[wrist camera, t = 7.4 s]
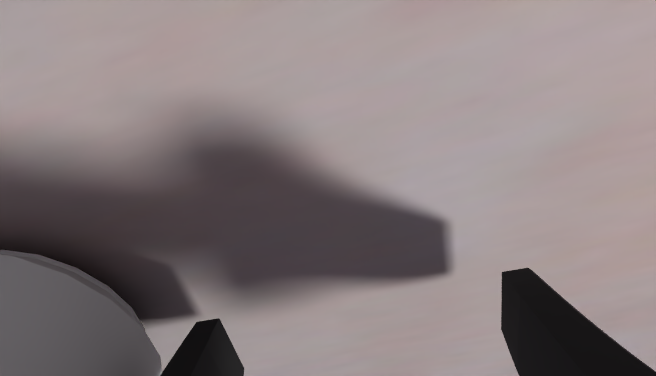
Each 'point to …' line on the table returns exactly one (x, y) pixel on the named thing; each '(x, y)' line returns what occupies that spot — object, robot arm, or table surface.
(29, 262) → the can
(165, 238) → the table surface
